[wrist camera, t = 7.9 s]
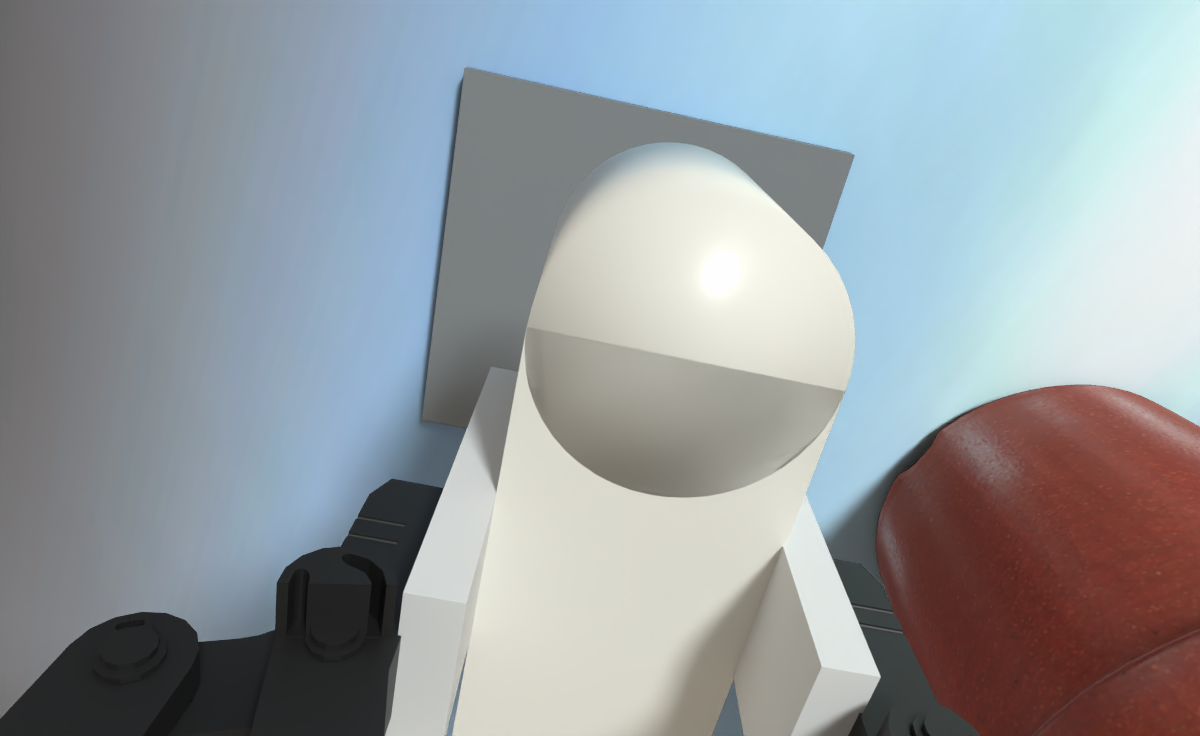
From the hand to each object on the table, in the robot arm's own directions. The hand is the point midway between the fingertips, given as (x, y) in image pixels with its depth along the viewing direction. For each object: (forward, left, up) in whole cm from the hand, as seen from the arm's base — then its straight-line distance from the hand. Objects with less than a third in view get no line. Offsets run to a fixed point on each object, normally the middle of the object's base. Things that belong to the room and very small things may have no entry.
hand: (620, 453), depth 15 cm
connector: (0, 0, -1) cm, 1 cm away
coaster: (0, 0, -11) cm, 11 cm away
